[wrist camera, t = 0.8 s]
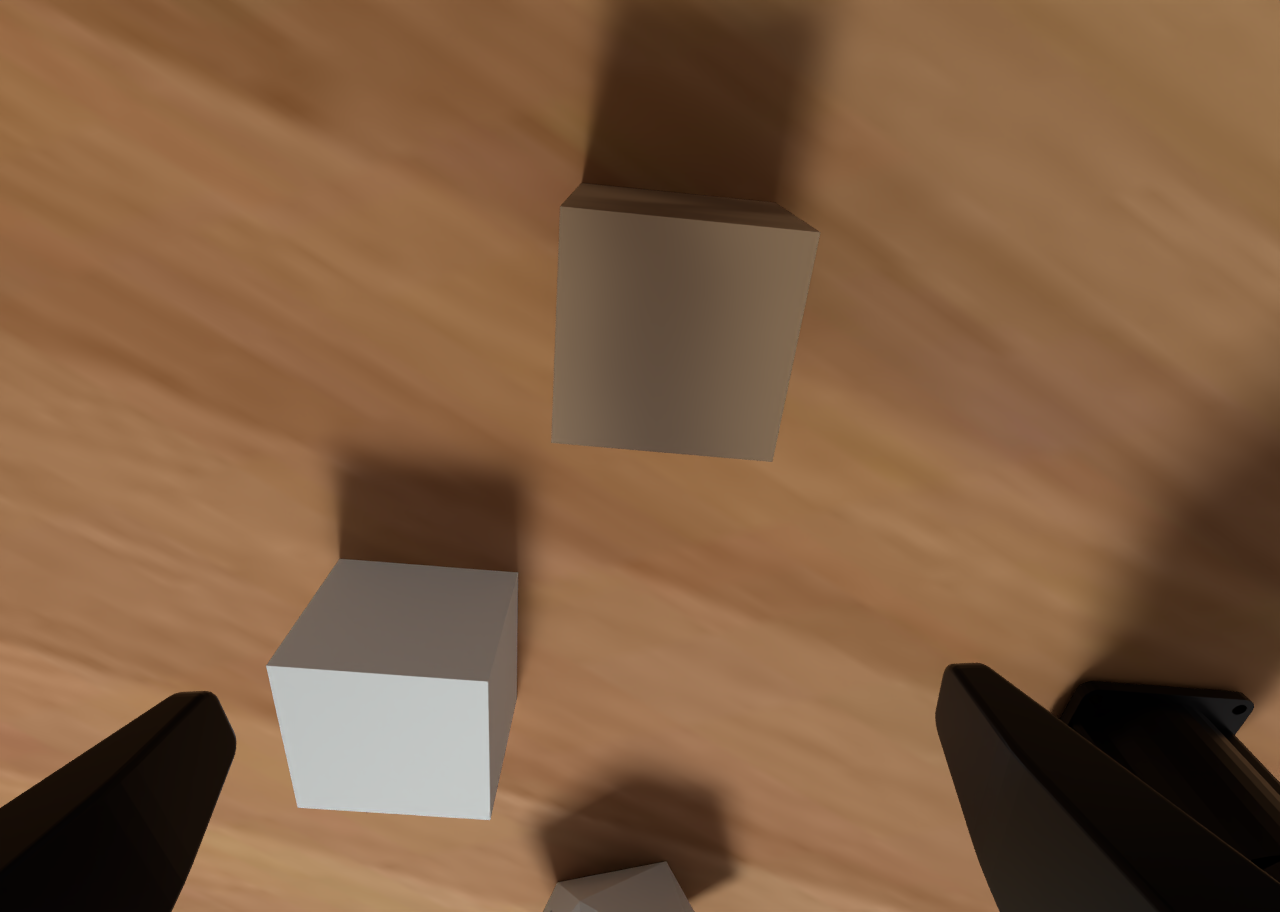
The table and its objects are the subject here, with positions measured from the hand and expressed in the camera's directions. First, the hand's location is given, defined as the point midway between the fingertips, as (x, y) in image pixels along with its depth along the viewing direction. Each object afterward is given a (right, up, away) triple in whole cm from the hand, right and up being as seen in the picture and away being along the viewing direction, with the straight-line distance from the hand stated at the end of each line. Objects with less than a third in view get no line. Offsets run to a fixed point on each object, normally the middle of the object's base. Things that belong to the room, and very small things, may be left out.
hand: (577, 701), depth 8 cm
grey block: (-7, -3, +16) cm, 17 cm away
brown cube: (+2, +8, +10) cm, 13 cm away
